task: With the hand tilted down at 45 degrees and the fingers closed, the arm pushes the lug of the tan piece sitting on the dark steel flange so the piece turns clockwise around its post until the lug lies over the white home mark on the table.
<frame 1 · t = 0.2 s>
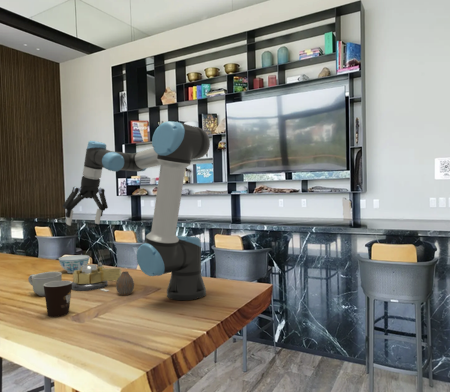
hand: (83, 224, 156), 27 cm above the table, tool tilted 15°, fingers open, 13 cm apart
vase: (125, 294, 141), on the table
pocket watch: (95, 278, 171), on the table
coffee mug: (62, 313, 119), on the table
flange post: (89, 286, 155), on the table
teacup: (44, 294, 144), on the table
tan piece: (97, 274, 155), point 5 cm above the table, hinge at 0.0°
home mark: (104, 290, 147), on the table
chinaware: (74, 272, 187), on the table
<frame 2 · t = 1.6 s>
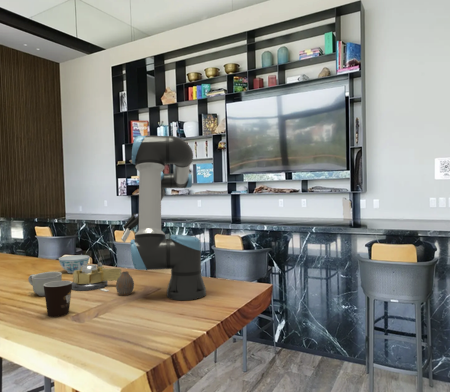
hand: (132, 240, 169), 18 cm above the table, tool tilted 45°, fingers open, 10 cm apart
nothing on the table moved.
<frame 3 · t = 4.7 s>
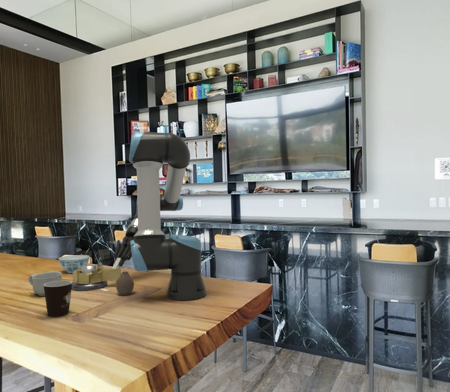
hand: (114, 271, 157), 6 cm above the table, tool tilted 45°, fingers closed
tan piece: (97, 274, 155), point 5 cm above the table, hinge at -1.2°, touching gripper
everything else where it was.
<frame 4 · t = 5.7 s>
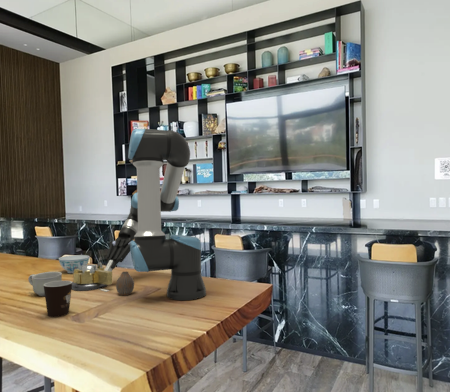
hand: (106, 274, 152), 6 cm above the table, tool tilted 45°, fingers closed
tan piece: (94, 275, 153), point 5 cm above the table, hinge at -34.3°, touching gripper
everything else where it was.
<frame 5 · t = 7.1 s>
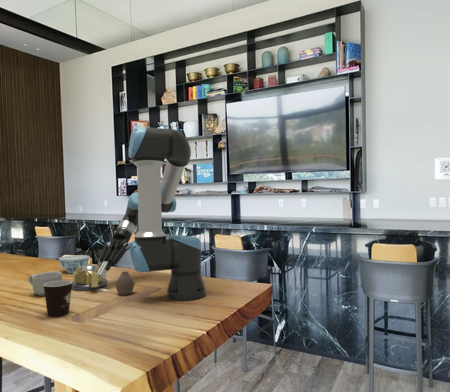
hand: (99, 276, 148), 6 cm above the table, tool tilted 45°, fingers closed
tan piece: (90, 276, 151), point 5 cm above the table, hinge at -61.3°, touching gripper
everything else where it was.
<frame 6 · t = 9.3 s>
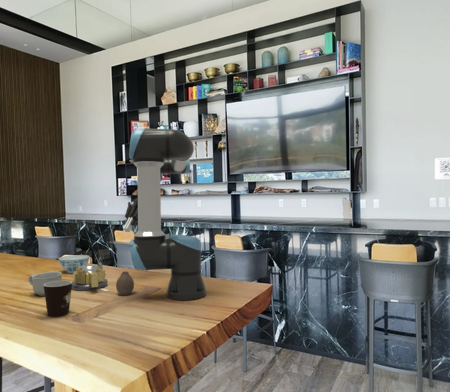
hand: (126, 230, 161), 24 cm above the table, tool tilted 45°, fingers closed
tan piece: (90, 276, 151), point 5 cm above the table, hinge at -61.3°
everything else where it was.
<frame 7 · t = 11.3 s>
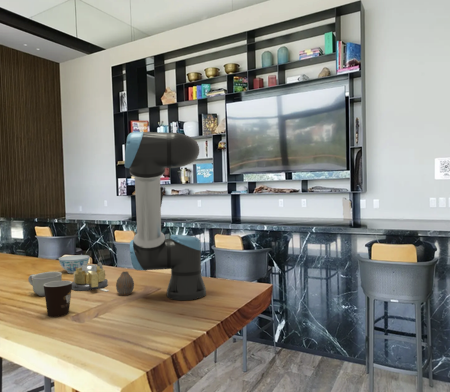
hand: (152, 223, 164), 26 cm above the table, tool pointing down, fingers closed
nothing on the table moved.
at the end: tan piece at -61° (first picture: +0°) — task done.
